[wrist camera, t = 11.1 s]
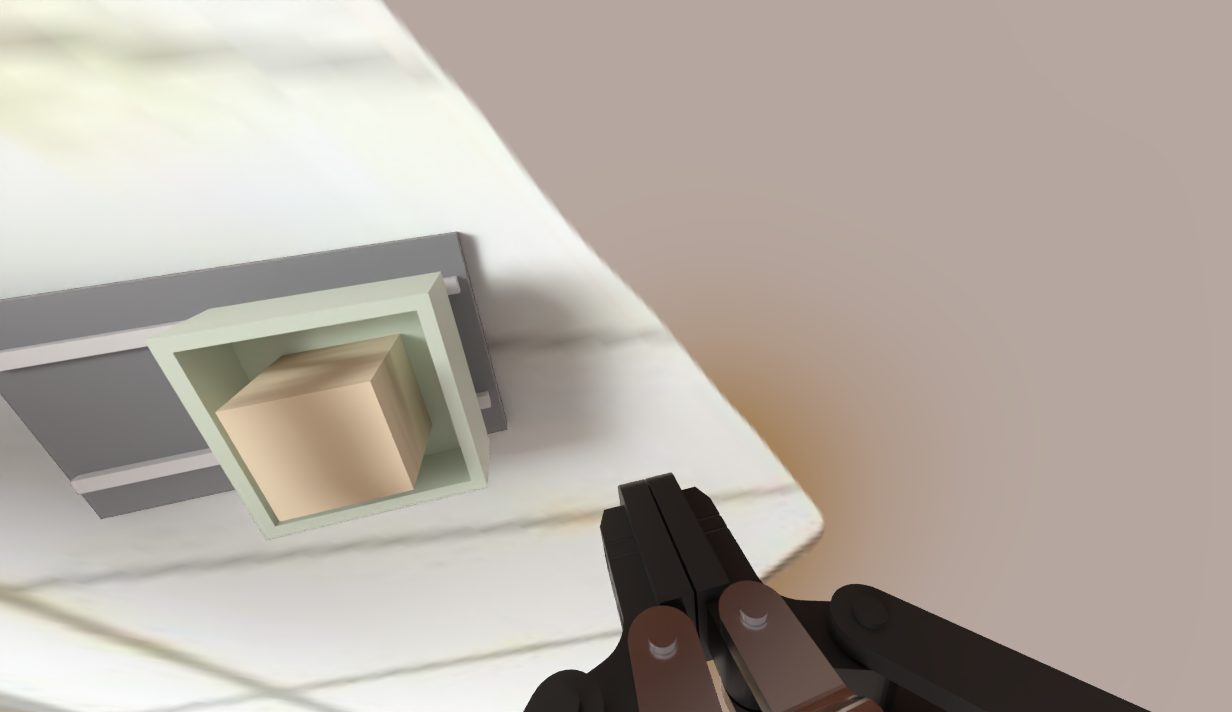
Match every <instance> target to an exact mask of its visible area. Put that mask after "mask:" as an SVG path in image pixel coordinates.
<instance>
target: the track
mask: <svg viewBox="0 0 1232 712" xmlns="http://www.w3.org/2000/svg"><path fill="white" fill-rule="evenodd" d="M440 271H441V273H442V277H443V280H444V284H445V287H446V291H447V294H448V298H449V301H450V305H451V308H452V312H453V315H454V319H455V322H456V326H457V329H458V333H459V336H460V340H461V343H462V347H463V350H464V354H465V357H466V361H467V364H468V368H469V371H470V375H471V378H472V382H473V385H474V389H475V392H476V396H477V399H478V403H479V406H480V410H481V413H482V417H483V420H484V424H485V427H486V431H487V434H489V433H494V432H498V431H503V430H507V421H506V417H505V413H504V409H503V406H502V402H501V398H500V394H499V390H498V386H497V383H496V379H495V375H494V371H493V367H492V363H491V359H490V356H489V352H488V348H487V344H486V340H485V336H484V333H483V329H482V325H481V321H480V317H479V313H478V309H477V306H476V302H475V298H474V294H473V290H472V286H471V283H470V279H469V275H468V271H467V267H466V263H465V259H464V256H463V252H462V248H461V244H460V240H459V236H458V233H457V232H451V233H445V234H438V235H431V236H425V237H418V238H411V239H404V240H398V241H391V242H384V243H378V244H371V245H364V246H357V247H351V248H344V249H337V250H330V251H324V252H317V253H310V254H304V255H297V256H290V257H283V258H277V259H270V260H263V261H257V262H250V263H243V264H236V265H230V266H223V267H216V268H209V269H203V270H196V271H189V272H183V273H176V274H169V275H162V276H156V277H149V278H142V279H136V280H129V281H122V282H115V283H109V284H102V285H95V286H88V287H82V288H75V289H68V290H62V291H55V292H48V293H41V294H35V295H28V296H21V297H15V298H8V299H1V300H0V394H1V395H2V396H3V397H4V399H5V400H6V401H7V402H8V404H9V405H10V406H11V407H12V409H13V410H14V411H15V412H16V414H17V415H18V416H19V417H20V419H21V420H22V421H23V422H24V424H25V425H26V426H27V427H28V429H29V430H30V431H31V432H32V434H33V435H34V436H35V437H36V439H37V440H38V441H39V442H40V443H41V445H42V446H43V447H44V448H45V450H46V451H47V452H48V453H49V455H50V456H51V457H52V458H53V460H54V461H55V462H56V463H57V465H58V466H59V467H60V468H61V470H62V471H63V472H64V473H65V475H66V476H67V477H68V478H69V480H70V482H69V483H70V485H71V486H72V487H73V488H74V490H75V491H76V492H77V493H78V494H82V496H83V497H84V498H85V499H86V501H87V502H88V503H89V504H90V506H91V507H92V508H93V509H94V511H95V512H96V513H97V514H98V516H99V517H100V518H101V519H104V518H108V517H113V516H117V515H122V514H126V513H131V512H135V511H140V510H144V509H149V508H153V507H158V506H163V505H167V504H172V503H176V502H181V501H185V500H190V499H194V498H199V497H203V496H208V495H212V494H217V493H221V492H226V491H231V490H235V488H234V487H233V485H232V483H231V482H230V480H229V478H228V477H227V475H226V474H225V472H224V470H223V469H222V467H221V465H220V464H219V462H218V460H217V459H216V457H215V456H214V454H213V452H212V451H211V449H210V447H209V446H208V444H207V442H206V441H205V439H204V438H203V436H202V434H201V433H200V431H199V429H198V428H197V426H196V425H195V423H194V421H193V420H192V418H191V416H190V415H189V413H188V411H187V410H186V408H185V407H184V405H183V403H182V402H181V400H180V398H179V397H178V395H177V393H176V392H175V390H174V389H173V387H172V385H171V384H170V382H169V380H168V379H167V377H166V375H165V374H164V372H163V371H162V369H161V367H160V366H159V364H158V362H157V361H156V359H155V358H154V356H153V354H152V353H151V351H150V349H149V348H148V346H147V344H146V343H145V341H144V340H146V339H148V338H150V337H152V336H154V335H156V334H159V333H161V332H163V331H165V330H167V329H169V328H171V327H173V326H175V325H177V324H179V323H181V322H183V321H185V320H187V319H189V318H191V317H193V316H195V315H198V314H200V313H202V312H204V311H206V310H208V309H211V308H217V307H224V306H230V305H236V304H242V303H248V302H255V301H261V300H267V299H273V298H279V297H286V296H292V295H298V294H304V293H310V292H316V291H323V290H329V289H335V288H341V287H347V286H354V285H360V284H366V283H372V282H378V281H385V280H391V279H397V278H403V277H409V276H416V275H422V274H428V273H434V272H440Z"/></svg>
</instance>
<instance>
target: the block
mask: <svg viewBox="0 0 1232 712" xmlns="http://www.w3.org/2000/svg"><path fill="white" fill-rule="evenodd" d="M215 413H216V415H217V416H218V418H219V420H220V422H221V423H222V425H223V427H224V428H225V430H226V432H227V433H228V435H229V437H230V438H231V440H232V442H233V443H234V445H235V447H236V449H237V450H238V452H239V454H240V455H241V457H242V459H243V460H244V462H245V464H246V465H247V467H248V469H249V471H250V472H251V474H252V476H253V477H254V479H255V481H256V482H257V484H258V486H259V487H260V489H261V491H262V493H263V494H264V496H265V498H266V499H267V501H268V503H269V504H270V506H271V508H272V509H273V511H274V513H275V515H276V516H277V518H278V520H279V521H280V522H281V521H285V520H289V519H293V518H298V517H302V516H306V515H310V514H314V513H319V512H323V511H327V510H331V509H335V508H339V507H344V506H348V505H352V504H356V503H360V502H365V501H369V500H373V499H377V498H381V497H385V496H390V495H394V494H398V493H402V492H406V491H410V490H414V488H415V484H416V480H417V477H418V473H419V470H420V466H421V463H422V459H423V456H424V452H425V449H426V445H427V442H428V438H429V434H430V431H431V427H432V422H431V420H430V417H429V414H428V411H427V408H426V405H425V403H424V400H423V397H422V394H421V391H420V389H419V386H418V383H417V380H416V377H415V374H414V372H413V369H412V366H411V363H410V360H409V357H408V355H407V352H406V349H405V346H404V343H403V340H402V338H401V335H400V334H394V335H389V336H384V337H378V338H373V339H367V340H362V341H357V342H351V343H346V344H341V345H335V346H330V347H325V348H319V349H314V350H308V351H303V352H298V353H292V354H287V355H282V356H281V357H279V358H278V359H277V360H276V361H275V362H273V363H272V364H271V365H270V366H269V367H268V368H266V369H265V370H264V371H263V372H262V373H261V374H259V375H258V376H257V377H256V378H255V379H254V380H252V381H251V382H250V383H249V384H248V385H246V386H245V387H244V388H243V389H242V390H241V391H239V392H238V393H237V394H236V395H235V396H234V397H232V398H231V399H230V400H229V401H228V402H227V403H225V404H224V405H223V406H222V407H221V408H220V409H218V410H217V411H216V412H215Z"/></svg>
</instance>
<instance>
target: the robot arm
mask: <svg viewBox="0 0 1232 712" xmlns="http://www.w3.org/2000/svg"><path fill="white" fill-rule="evenodd" d="M618 492H619V499H620V505H621V506H618V507H614V508H610V509H606V510H604V513H603V517H602V521H601V525H600V529H601V535H602V540H603V546H604V551H605V557H606V563H607V568H608V572H609V576H610V580H611V584H612V588H613V593H614V597H615V600H616V605H617V609H618V613H619V617H620V621H621V625H622V629H623V632H622V636H621V639H620V641H619V643H618V645H617V647H616V649H615V650H614V652H613V653H612V654H611V655H610V656H609V657H608V658H607V659H606V660H605V661H603V662H602V663H601V664H599V665H598V666H597V667H595V668H594V669H593V670H591V671H590V672H588V673H587V674H586V673H584V672H582V671H579V670H563V671H559V672H557V673H555V674H553V675H551V676H550V677H548V678H547V679H546V680H544V681H543V682H542V683H541V684H540V685H539V687H538V688H537V689H536V691H535V692H534V694H533V695H532V697H531V699H530V701H529V702H528V704H527V706H526V708H525V710H524V711H523V712H722V708H721V705H720V702H719V699H718V696H717V693H716V690H715V687H714V684H713V680H712V677H711V674H710V671H709V668H708V665H707V662H706V661H710V660H714V663H715V665H716V668H717V670H718V673H719V675H720V677H721V691H722V695H723V698H724V701H725V703H726V705H727V707H728V709H729V711H730V712H1150V711H1148V710H1146V709H1144V708H1141V707H1139V706H1137V705H1135V704H1133V703H1130V702H1128V701H1126V700H1124V699H1121V698H1119V697H1117V696H1115V695H1112V694H1110V693H1108V692H1106V691H1103V690H1101V689H1099V688H1097V687H1094V686H1092V685H1090V684H1088V683H1085V682H1084V681H1081V680H1079V679H1077V678H1075V677H1072V676H1070V675H1068V674H1066V673H1064V672H1061V671H1059V670H1057V669H1055V668H1052V667H1050V666H1048V665H1046V664H1043V663H1041V662H1039V661H1037V660H1035V659H1032V658H1030V657H1028V656H1026V655H1023V654H1021V653H1019V652H1017V651H1015V650H1012V649H1010V648H1008V647H1006V646H1003V645H1001V644H999V643H996V642H994V641H992V640H990V639H988V638H986V637H983V636H981V635H979V634H977V633H974V632H972V631H970V630H968V629H965V628H963V627H961V626H959V625H957V624H954V623H952V622H950V621H948V620H946V619H943V618H941V617H939V616H937V615H934V614H932V613H930V612H928V611H925V610H923V609H921V608H919V607H917V606H914V605H912V604H910V603H908V602H905V601H903V600H901V599H899V598H897V597H894V596H892V595H890V594H887V593H885V592H883V591H881V590H879V589H876V588H874V587H871V586H867V585H862V584H850V585H846V586H843V587H841V588H839V589H838V590H837V591H836V592H835V593H834V595H833V596H832V600H831V601H804V600H794V599H790V598H786V597H784V596H781V595H779V594H778V593H777V592H776V591H775V590H773V589H772V588H770V587H769V586H767V585H765V584H763V583H762V582H761V580H760V579H759V578H758V576H757V575H756V573H755V572H754V570H753V568H752V567H751V565H750V563H749V562H748V560H747V558H746V557H745V555H744V553H743V552H742V550H741V548H740V547H739V545H738V543H737V542H736V540H735V539H734V537H733V535H732V534H731V532H730V530H729V529H728V528H727V525H726V524H725V522H724V520H723V519H722V517H721V516H720V515H719V512H718V510H717V509H716V507H715V505H714V504H713V502H712V500H711V499H710V498H709V497H708V496H707V495H705V494H704V493H703V492H701V491H700V490H699V489H697V488H696V487H692V488H688V489H684V490H681V488H680V486H679V484H678V483H677V481H676V479H675V477H674V475H673V474H672V473H667V474H663V475H659V476H655V477H651V478H647V479H645V480H644V479H643V480H639V481H635V482H631V483H627V484H623V485H619V486H618Z"/></svg>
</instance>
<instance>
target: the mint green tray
mask: <svg viewBox="0 0 1232 712" xmlns="http://www.w3.org/2000/svg"><path fill="white" fill-rule="evenodd" d="M394 334H400V335H401V338H402V340H403V343H404V346H405V349H406V352H407V355H408V357H409V360H410V363H411V366H412V369H413V372H414V374H415V377H416V380H417V383H418V386H419V389H420V391H421V394H422V397H423V400H424V403H425V405H426V408H427V411H428V414H429V417H430V420H431V422H432V427H431V431H430V434H429V438H428V442H427V445H426V449H425V452H424V456H423V459H422V463H421V466H420V470H419V473H418V477H417V480H416V484H415V488H414V490H410V491H406V492H402V493H398V494H394V495H390V496H385V497H381V498H377V499H373V500H369V501H365V502H360V503H356V504H352V505H348V506H344V507H339V508H335V509H331V510H327V511H323V512H319V513H314V514H310V515H306V516H302V517H298V518H293V519H289V520H285V521H281V522H280V521H279V520H278V518H277V516H276V515H275V513H274V511H273V509H272V508H271V506H270V504H269V503H268V501H267V499H266V498H265V496H264V494H263V493H262V491H261V489H260V487H259V486H258V484H257V482H256V481H255V479H254V477H253V476H252V474H251V472H250V471H249V469H248V467H247V465H246V464H245V462H244V460H243V459H242V457H241V455H240V454H239V452H238V450H237V449H236V447H235V445H234V443H233V442H232V440H231V438H230V437H229V435H228V433H227V432H226V430H225V428H224V427H223V425H222V423H221V422H220V420H219V418H218V416H217V415H216V413H215V412H216V411H217V410H218V409H220V408H221V407H222V406H223V405H224V404H225V403H227V402H228V401H229V400H230V399H231V398H232V397H234V396H235V395H236V394H237V393H238V392H239V391H241V390H242V389H243V388H244V387H245V386H246V385H248V384H249V383H250V382H251V381H252V380H254V379H255V378H256V377H257V376H258V375H259V374H261V373H262V372H263V371H264V370H265V369H266V368H268V367H269V366H270V365H271V364H272V363H273V362H275V361H276V360H277V359H278V358H279V357H281V356H282V355H287V354H292V353H298V352H303V351H308V350H314V349H319V348H325V347H330V346H335V345H341V344H346V343H351V342H357V341H362V340H367V339H373V338H378V337H384V336H389V335H394ZM144 341H145V343H146V344H147V346H148V348H149V349H150V351H151V353H152V354H153V356H154V358H155V359H156V361H157V362H158V364H159V366H160V367H161V369H162V371H163V372H164V374H165V375H166V377H167V379H168V380H169V382H170V384H171V385H172V387H173V389H174V390H175V392H176V393H177V395H178V397H179V398H180V400H181V402H182V403H183V405H184V407H185V408H186V410H187V411H188V413H189V415H190V416H191V418H192V420H193V421H194V423H195V425H196V426H197V428H198V429H199V431H200V433H201V434H202V436H203V438H204V439H205V441H206V442H207V444H208V446H209V447H210V449H211V451H212V452H213V454H214V456H215V457H216V459H217V460H218V462H219V464H220V465H221V467H222V469H223V470H224V472H225V474H226V475H227V477H228V478H229V480H230V482H231V483H232V485H233V487H234V488H235V490H236V492H237V493H238V495H239V496H240V498H241V500H242V501H243V503H244V505H245V506H246V508H247V510H248V511H249V513H250V514H251V516H252V518H253V519H254V521H255V523H256V524H257V526H258V527H259V529H260V531H261V532H262V534H263V536H264V537H265V539H266V540H269V539H273V538H278V537H282V536H286V535H290V534H294V533H298V532H303V531H307V530H311V529H315V528H319V527H324V526H328V525H332V524H336V523H340V522H344V521H349V520H353V519H357V518H361V517H365V516H370V515H374V514H378V513H382V512H386V511H391V510H395V509H399V508H403V507H407V506H411V505H416V504H420V503H424V502H428V501H432V500H437V499H441V498H445V497H449V496H453V495H457V494H462V493H466V492H470V491H474V490H478V489H483V488H487V483H488V466H489V448H490V441H489V438H488V434H487V431H486V427H485V424H484V420H483V417H482V413H481V410H480V406H479V403H478V399H477V396H476V392H475V389H474V385H473V382H472V378H471V375H470V371H469V368H468V364H467V361H466V357H465V354H464V350H463V347H462V343H461V340H460V336H459V333H458V329H457V326H456V322H455V319H454V315H453V312H452V308H451V305H450V301H449V298H448V294H447V291H446V287H445V284H444V280H443V277H442V273H441V271H440V272H434V273H428V274H422V275H416V276H409V277H403V278H397V279H391V280H385V281H378V282H372V283H366V284H360V285H354V286H347V287H341V288H335V289H329V290H323V291H316V292H310V293H304V294H298V295H292V296H286V297H279V298H273V299H267V300H261V301H255V302H248V303H242V304H236V305H230V306H224V307H217V308H211V309H208V310H206V311H204V312H202V313H200V314H198V315H195V316H193V317H191V318H189V319H187V320H185V321H183V322H181V323H179V324H177V325H175V326H173V327H171V328H169V329H167V330H165V331H163V332H161V333H159V334H156V335H154V336H152V337H150V338H148V339H146V340H144Z"/></svg>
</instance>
